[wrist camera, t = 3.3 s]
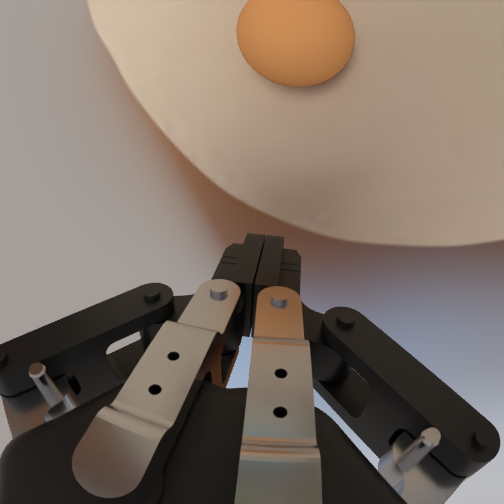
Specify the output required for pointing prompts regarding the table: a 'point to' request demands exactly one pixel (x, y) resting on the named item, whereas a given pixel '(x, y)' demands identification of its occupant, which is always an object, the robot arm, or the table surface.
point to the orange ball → (295, 39)
